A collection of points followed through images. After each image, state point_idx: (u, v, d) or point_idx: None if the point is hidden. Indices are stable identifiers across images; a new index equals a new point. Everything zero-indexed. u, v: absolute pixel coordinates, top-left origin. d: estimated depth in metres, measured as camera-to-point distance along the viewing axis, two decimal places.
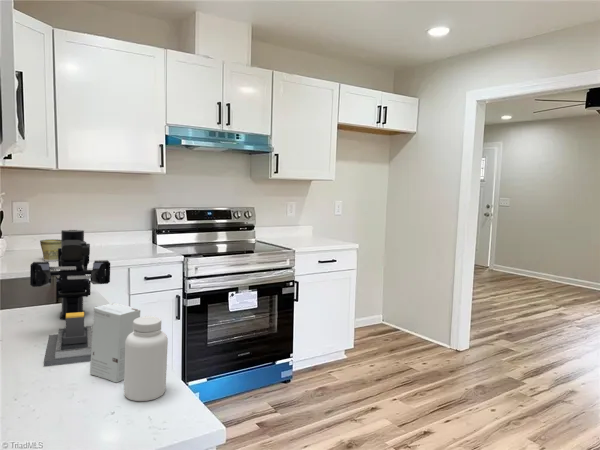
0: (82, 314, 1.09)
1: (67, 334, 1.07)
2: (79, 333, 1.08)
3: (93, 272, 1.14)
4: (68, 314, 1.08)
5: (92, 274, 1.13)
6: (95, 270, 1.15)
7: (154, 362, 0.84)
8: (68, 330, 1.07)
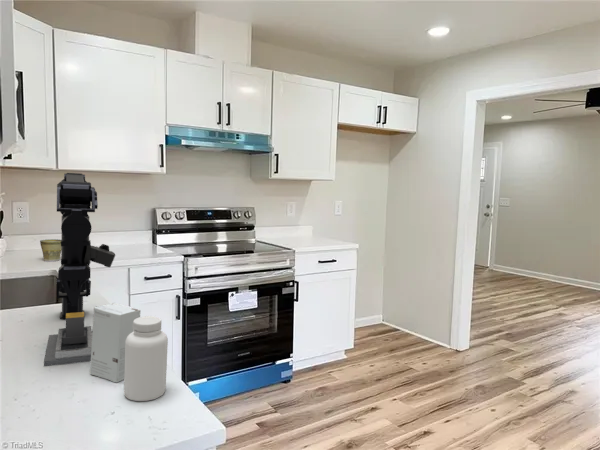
0: (82, 314, 1.09)
1: (67, 334, 1.07)
2: (79, 333, 1.08)
3: None
4: (68, 314, 1.08)
5: None
6: None
7: (154, 362, 0.84)
8: (68, 330, 1.07)
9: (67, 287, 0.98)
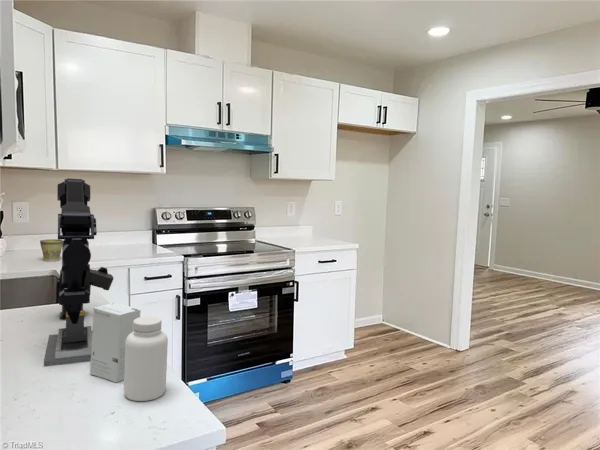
0: (82, 312, 1.10)
1: (67, 332, 1.08)
2: (79, 331, 1.10)
3: None
4: None
5: None
6: None
7: (154, 362, 0.84)
8: (68, 328, 1.08)
9: (68, 307, 1.05)
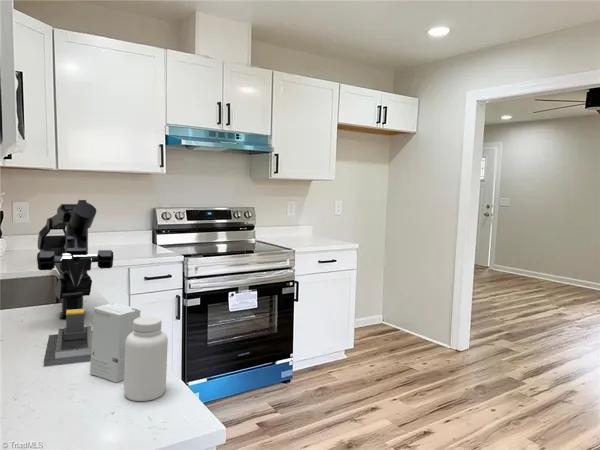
0: (82, 311, 1.12)
1: (67, 330, 1.10)
2: (79, 329, 1.11)
3: None
4: (68, 311, 1.11)
5: None
6: None
7: (154, 362, 0.84)
8: (68, 326, 1.10)
9: (83, 268, 1.20)
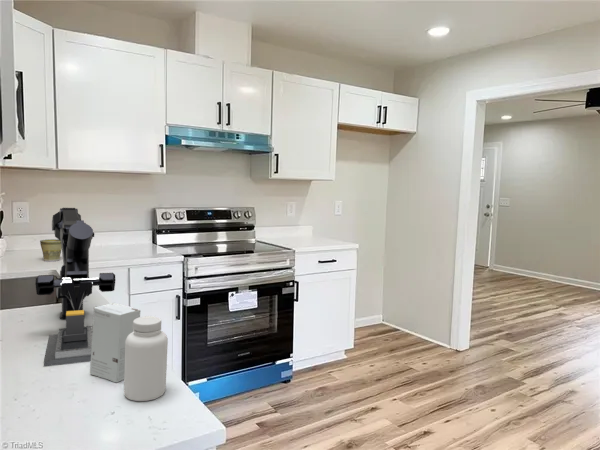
0: (82, 312, 1.11)
1: (67, 332, 1.09)
2: (79, 331, 1.10)
3: None
4: (68, 312, 1.10)
5: None
6: None
7: (154, 362, 0.84)
8: (68, 328, 1.09)
9: (84, 292, 1.15)
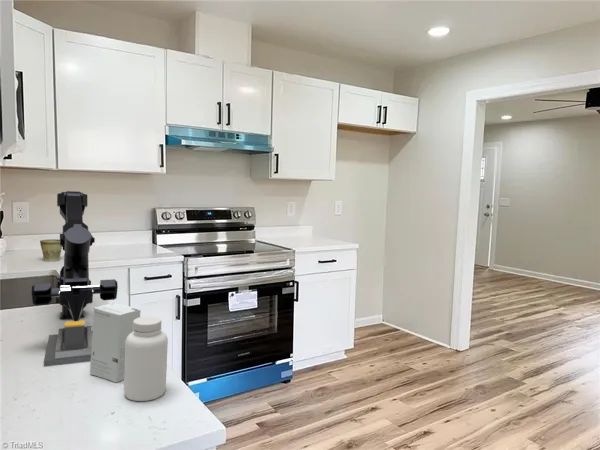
0: (82, 323, 1.03)
1: (66, 344, 1.01)
2: (79, 343, 1.02)
3: None
4: (67, 323, 1.02)
5: None
6: None
7: (154, 362, 0.84)
8: (67, 340, 1.01)
9: (84, 301, 1.07)
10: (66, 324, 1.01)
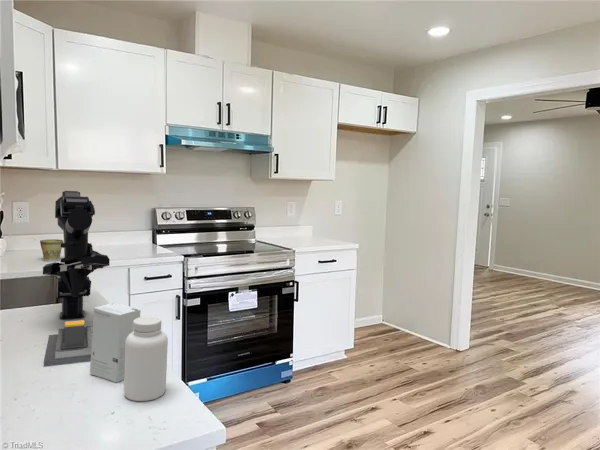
0: (82, 322, 1.03)
1: (66, 344, 1.01)
2: (79, 343, 1.02)
3: None
4: (67, 323, 1.02)
5: None
6: None
7: (154, 362, 0.84)
8: (67, 340, 1.01)
9: (75, 278, 1.15)
10: (66, 324, 1.01)
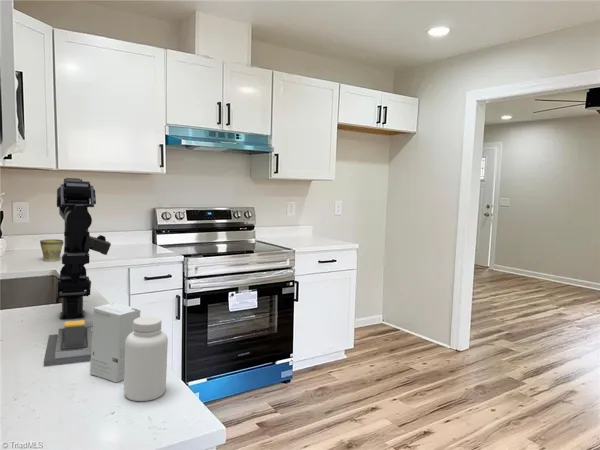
0: (82, 322, 1.03)
1: (66, 344, 1.01)
2: (79, 343, 1.02)
3: None
4: (67, 323, 1.02)
5: None
6: None
7: (154, 362, 0.84)
8: (67, 340, 1.01)
9: (69, 269, 1.17)
10: (66, 324, 1.01)
